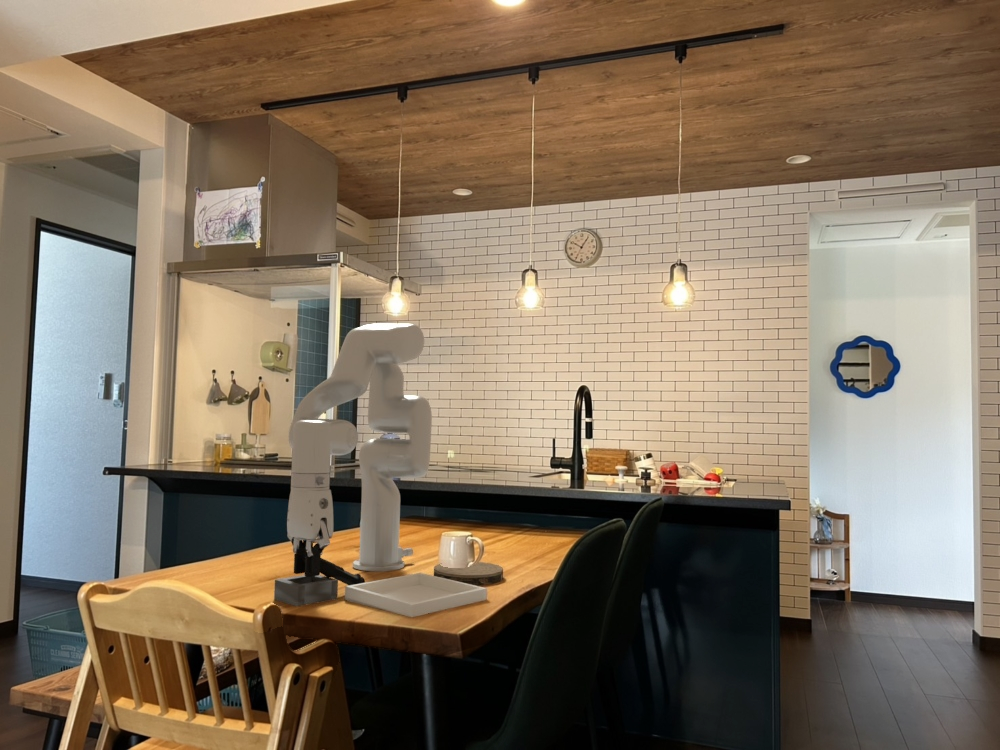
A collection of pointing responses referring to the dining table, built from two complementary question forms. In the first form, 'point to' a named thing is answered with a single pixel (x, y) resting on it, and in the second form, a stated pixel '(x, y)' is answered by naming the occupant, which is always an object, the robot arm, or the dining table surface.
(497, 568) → the wooden log coaster
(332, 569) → the electric trimmer
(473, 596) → the tray
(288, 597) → the socket block
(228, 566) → the dining table surface
